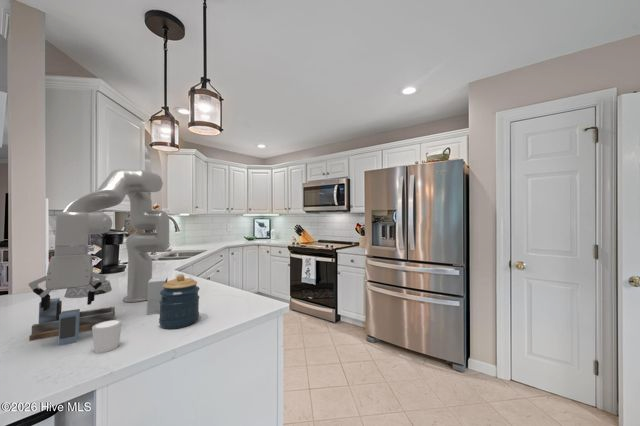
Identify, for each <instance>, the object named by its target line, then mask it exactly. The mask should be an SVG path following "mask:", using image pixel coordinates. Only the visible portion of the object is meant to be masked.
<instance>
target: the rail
mask: <svg viewBox="0 0 640 426" xmlns="http://www.w3.org/2000/svg"><path fill="white" fill-rule="evenodd" d="M62 304H63V301H62V300H61V298H60V297H55V298H50V308H49V309H48V310H46V311H43V308H41V301H40V302H39V304H38V306H39V307H38V323H34V324H32V326H31V334H30V335H29V336H28V337H29V339H28V340H29V342H31V341H37V340H41V339H42V340H43V339H48V338H53V337H54V338H55V337H59V315H60V314H61V313H62V308H63V307H62ZM115 317H116V308H115V306H110V307H102V308H97V309H95V308H94V309H90V310H84V311H80V322H79V333H81V332H86V331H91V330H92V326H94V325H95V324H98V323H101V322H104V321H109V320H115Z"/></svg>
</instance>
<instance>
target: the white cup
mask: <svg viewBox="0 0 640 426" xmlns="http://www.w3.org/2000/svg"><path fill="white" fill-rule="evenodd" d="M122 324H123V320H120V319H114V320H109V321H104V322H101V323H98V324H95V325H94V326H92V331H91V332H92V342H93V352H95V353H97V354H98V353H99V354H100V353H105V352H109V351H113V350H115V349H117V348H118V347H119V346H120V339H121V332H122Z"/></svg>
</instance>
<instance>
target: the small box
mask: <svg viewBox="0 0 640 426" xmlns="http://www.w3.org/2000/svg"><path fill="white" fill-rule="evenodd" d="M167 282H168V276H165V277H152V278H151V279H150V280H149V281H148V292H147V300H146V303H147V305H146V315H155V314H160V303H159V302H160V300H161V295H160V291H162V290H163V289H164V287H163V285H164V284H165V283H167Z"/></svg>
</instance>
